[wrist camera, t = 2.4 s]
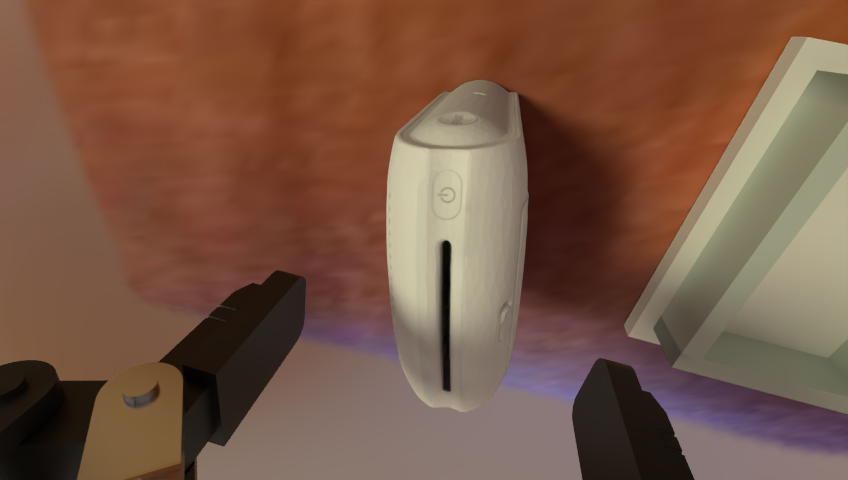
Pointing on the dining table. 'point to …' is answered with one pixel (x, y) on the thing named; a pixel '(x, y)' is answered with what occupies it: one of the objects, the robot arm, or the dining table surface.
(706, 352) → the printer dock
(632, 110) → the dining table surface
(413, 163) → the photo printer
